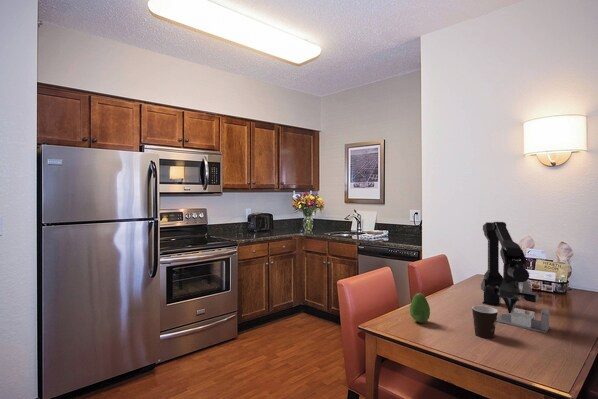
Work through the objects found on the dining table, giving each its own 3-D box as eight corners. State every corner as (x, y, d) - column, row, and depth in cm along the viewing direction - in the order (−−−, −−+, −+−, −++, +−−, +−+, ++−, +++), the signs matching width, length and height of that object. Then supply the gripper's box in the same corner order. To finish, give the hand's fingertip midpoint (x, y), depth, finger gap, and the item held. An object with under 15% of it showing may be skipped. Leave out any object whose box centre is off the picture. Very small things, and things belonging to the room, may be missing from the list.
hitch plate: (494, 321, 147) (494, 301, 146) (499, 316, 152) (500, 297, 152) (547, 333, 134) (547, 311, 134) (551, 328, 139) (551, 306, 139)
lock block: (511, 323, 143) (511, 309, 143) (514, 319, 147) (515, 306, 147) (531, 328, 138) (531, 314, 138) (534, 324, 142) (534, 310, 142)
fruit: (415, 317, 151) (415, 289, 151) (433, 322, 146) (433, 293, 145) (406, 322, 146) (406, 293, 145) (424, 327, 140) (424, 297, 140)
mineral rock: (512, 288, 197) (512, 270, 197) (535, 291, 190) (535, 273, 190) (507, 293, 188) (508, 274, 187) (531, 297, 181) (531, 278, 180)
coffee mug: (487, 341, 127) (488, 314, 126) (466, 333, 134) (467, 307, 134) (507, 335, 132) (507, 309, 132) (485, 327, 140) (486, 303, 139)
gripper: (480, 275, 146) (479, 312, 147) (533, 284, 133) (531, 324, 134) (489, 271, 154) (488, 305, 155) (539, 279, 141) (538, 317, 142)
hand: (510, 313), depth 146 cm, fingers closed
